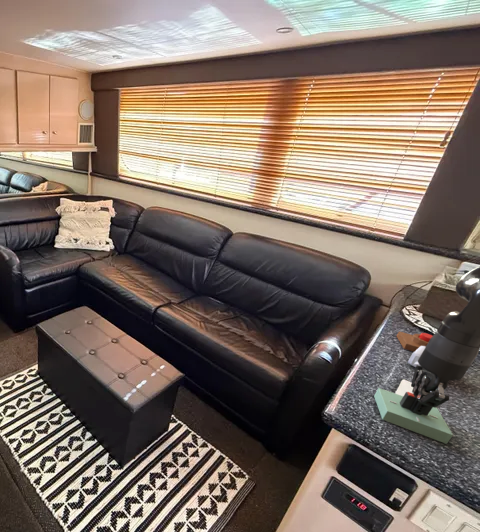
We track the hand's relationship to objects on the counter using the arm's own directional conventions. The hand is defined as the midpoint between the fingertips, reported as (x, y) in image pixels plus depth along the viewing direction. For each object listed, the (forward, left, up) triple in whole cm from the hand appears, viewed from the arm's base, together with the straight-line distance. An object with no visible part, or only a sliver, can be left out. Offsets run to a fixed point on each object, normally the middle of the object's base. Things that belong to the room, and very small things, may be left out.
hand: (413, 409), depth 81 cm
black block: (0, 0, 0) cm, 0 cm away
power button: (-15, -49, +1) cm, 51 cm away
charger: (-12, -32, -3) cm, 34 cm away
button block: (-15, -49, -3) cm, 51 cm away
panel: (0, 0, -3) cm, 3 cm away
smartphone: (-4, -12, -4) cm, 13 cm away
